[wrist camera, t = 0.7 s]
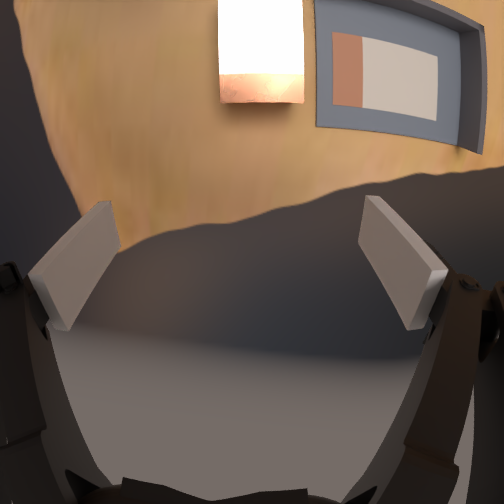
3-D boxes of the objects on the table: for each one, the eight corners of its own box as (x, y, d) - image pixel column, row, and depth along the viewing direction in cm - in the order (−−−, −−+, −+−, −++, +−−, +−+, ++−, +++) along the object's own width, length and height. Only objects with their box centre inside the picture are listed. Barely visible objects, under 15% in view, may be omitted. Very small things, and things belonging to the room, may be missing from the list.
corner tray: (312, -14, 23) (322, -29, 18) (461, 28, 23) (483, 26, 18) (315, 126, 33) (326, 130, 28) (460, 145, 33) (482, 154, 28)
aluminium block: (224, 3, 25) (218, -20, 18) (290, 2, 25) (300, -20, 18) (226, 102, 32) (220, 103, 25) (292, 102, 32) (304, 103, 25)
